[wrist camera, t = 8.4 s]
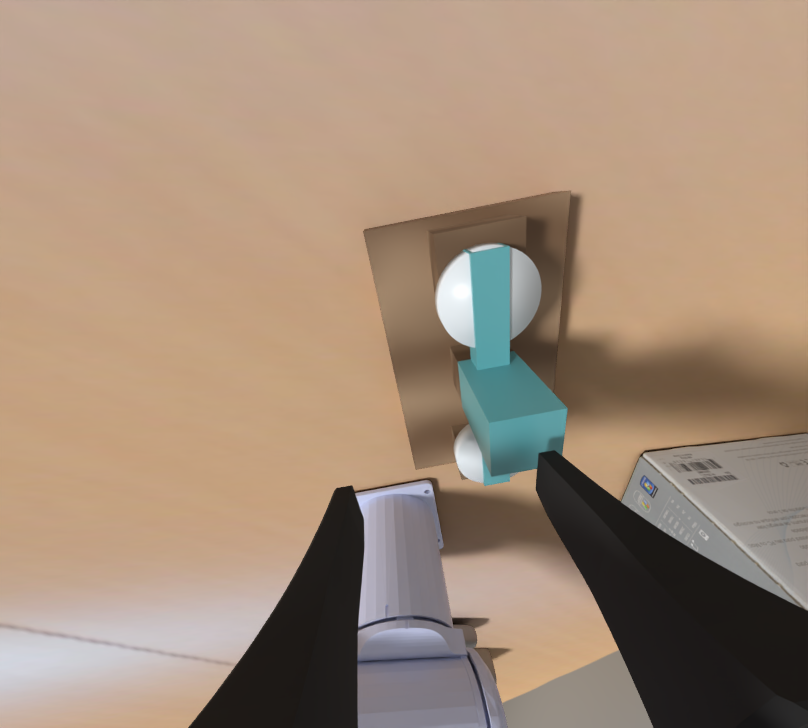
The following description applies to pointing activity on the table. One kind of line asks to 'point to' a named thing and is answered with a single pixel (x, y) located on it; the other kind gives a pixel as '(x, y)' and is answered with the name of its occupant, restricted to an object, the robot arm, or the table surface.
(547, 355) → the display stand
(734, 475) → the hard drive box
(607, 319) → the table surface
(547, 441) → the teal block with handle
